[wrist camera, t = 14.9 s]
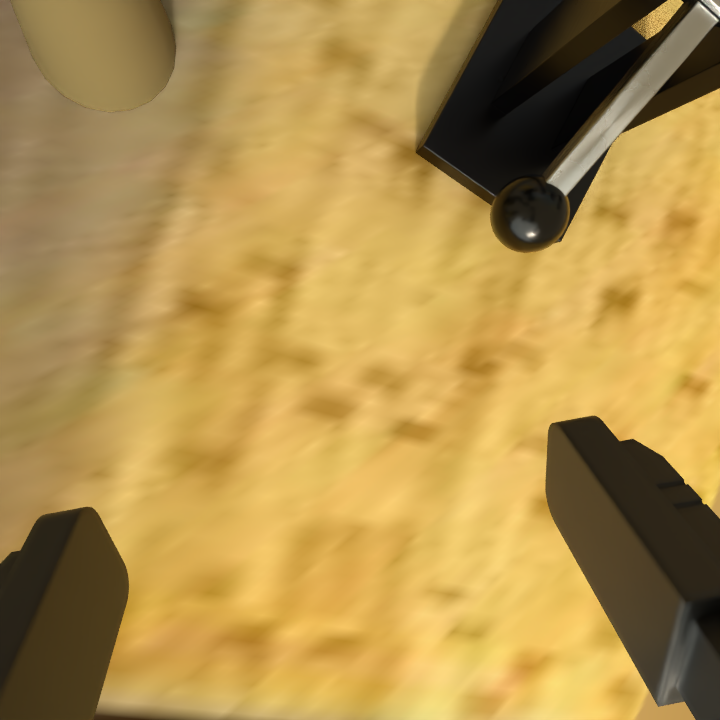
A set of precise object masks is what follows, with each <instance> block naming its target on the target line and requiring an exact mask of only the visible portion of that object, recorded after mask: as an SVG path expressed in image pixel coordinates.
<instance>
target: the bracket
mask: <svg viewBox="0 0 720 720" xmlns="http://www.w3.org/2000/svg"><path fill="white" fill-rule="evenodd" d="M666 1H667V0H498V2H497V4H496V5H495V7H494V9H493V11H492V13H491V15H490V16H489V18H488V20H487V22H486V24H485V26H484V27H483V29H482V31H481V33H480V35H479V37H478V38H477V40H476V42H475V44H474V46H473V48H472V49H471V51H470V53H469V55H468V57H467V59H466V60H465V62H464V64H463V66H462V68H461V70H460V71H459V73H458V75H457V77H456V79H455V81H454V82H453V84H452V86H451V88H450V90H449V92H448V93H447V95H446V97H445V99H444V101H443V103H442V104H441V106H440V108H439V110H438V112H437V114H436V115H435V117H434V119H433V121H432V123H431V125H430V126H429V128H428V130H427V132H426V134H425V136H424V137H423V139H422V141H421V143H420V145H419V147H418V148H417V150H416V153H417V154H418V155H420V156H421V157H422V158H424V159H425V160H427V161H428V162H430V163H431V164H433V165H434V166H435V167H437V168H438V169H440V170H441V171H443V172H444V173H446V174H447V175H448V176H450V177H451V178H453V179H454V180H456V181H457V182H459V183H460V184H461V185H463V186H464V187H466V188H467V189H469V190H470V191H472V192H473V193H474V194H476V195H477V196H479V197H480V198H482V199H483V200H485V201H486V202H487V203H489V204H490V205H492V203H493V201H494V198H495V197H496V195H497V193H498V192H499V191H500V189H501V188H502V187H503V186H504V185H505V184H507V183H508V182H509V181H511V180H513V179H515V178H517V177H519V176H523V175H528V174H539V175H542V174H543V172H544V171H545V170H546V169H547V168H548V166H549V165H550V164H551V163H552V162H553V160H554V159H555V158H556V157H557V156H558V154H559V153H560V152H561V151H562V149H563V148H564V147H565V146H566V145H567V143H568V142H569V141H570V140H571V139H572V137H573V136H574V135H575V134H576V133H577V131H578V130H579V129H580V128H581V127H582V125H583V124H584V123H585V122H586V120H587V119H588V118H589V117H590V116H591V114H592V113H593V112H594V111H595V110H596V108H597V107H598V106H599V105H600V104H601V102H602V101H603V100H604V99H605V98H606V96H607V95H608V94H609V93H610V91H611V90H612V89H613V88H614V87H615V85H616V84H617V83H618V82H619V81H620V79H621V78H622V77H623V76H624V75H625V73H626V72H627V71H628V70H629V68H630V67H631V66H632V65H633V64H634V62H635V61H636V60H637V59H638V58H639V56H640V55H641V54H642V53H643V52H644V50H645V49H646V48H647V47H648V46H649V44H650V43H651V42H652V41H653V39H654V38H655V37H656V36H657V35H658V33H659V32H658V33H657V34H655V35H654V36H652V37H651V38H649V39H648V40H646V39H645V38H644V37H643V36H642V35H641V34H639V33H638V32H637V31H636V30H635V29H634V28H633V27H631V26H632V25H633V24H635V23H636V22H638V21H639V20H640V19H642V18H643V17H645V16H646V15H648V14H649V13H650V12H652V11H653V10H655V9H656V8H657V7H659V6H660V5H662V4H663V3H664V2H666ZM719 88H720V28H719V27H714V28H713V29H712V30H711V31H710V32H709V33H708V35H707V36H706V37H705V38H704V39H703V40H702V41H701V43H700V44H699V45H698V46H697V47H696V48H695V49H694V51H693V52H692V53H691V54H690V55H689V56H688V57H687V59H686V60H685V61H684V62H683V63H682V64H681V65H680V67H679V68H678V69H677V70H676V71H675V72H674V73H673V75H672V76H671V77H670V78H669V79H668V80H667V81H666V83H665V84H664V85H663V86H662V87H661V88H660V89H659V91H658V92H657V93H656V94H655V95H654V96H653V97H652V99H651V100H650V101H649V102H648V103H647V104H646V105H645V107H644V108H643V109H642V110H641V111H640V112H639V113H638V115H637V116H636V117H635V118H634V119H633V120H632V121H631V123H630V124H629V125H628V126H627V127H626V128H625V129H624V131H623V132H622V133H624V132H626V131H628V130H630V129H632V128H634V127H637V126H639V125H641V124H643V123H645V122H647V121H650V120H652V119H654V118H656V117H658V116H660V115H663V114H665V113H667V112H669V111H671V110H673V109H676V108H678V107H680V106H682V105H684V104H686V103H689V102H691V101H693V100H695V99H697V98H699V97H702V96H704V95H706V94H708V93H710V92H712V91H715V90H717V89H719ZM611 145H612V144H611ZM611 145H610V147H611ZM610 147H609V148H610ZM609 148H608V149H607V150H606V151H605V152H604V153H603V155H602V156H601V157H600V158H599V159H598V160H597V161H596V163H595V164H594V165H593V166H592V167H591V168H590V169H589V171H588V172H587V173H586V174H585V175H584V176H583V177H582V179H581V180H580V181H579V182H578V183H577V184H576V185H575V187H574V188H573V189H572V190H571V191H570V192H569V193H568V195H567V197H568V200H569V206H570V216H569V221H568V224H567V227H566V229H565V231H564V232H563V234H562V235H561V236H560V238H559V239H558V240H557V241H556V242H555V243H557V242H560V241H561V240H562V238H563V236H564V235H565V233H566V231H567V229H568V227H569V225H570V223H571V221H572V219H573V217H574V215H575V213H576V212H577V210H578V208H579V206H580V204H581V202H582V200H583V198H584V196H585V194H586V192H587V191H588V189H589V187H590V185H591V183H592V181H593V179H594V177H595V175H596V173H597V171H598V170H599V168H600V166H601V164H602V162H603V160H604V158H605V156H606V154H607V152H608V150H609Z"/></svg>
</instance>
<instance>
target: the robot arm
mask: <svg viewBox="0 0 720 720" xmlns="http://www.w3.org/2000/svg"><path fill="white" fill-rule="evenodd" d="M546 497H547V502H548V506H549V509H550V512H551V515H552V517H553V520H554V522H555V524H556V526H557V527H558V529H559V531H560V533H561V534H562V536H563V538H564V540H565V542H566V543H567V545H568V547H569V549H570V550H571V552H572V554H573V556H574V558H575V559H576V561H577V563H578V565H579V566H580V568H581V570H582V572H583V574H584V575H585V577H586V579H587V581H588V582H589V584H590V586H591V588H592V590H593V591H594V593H595V595H596V597H597V599H598V600H599V602H600V604H601V606H602V607H603V609H604V611H605V613H606V615H607V616H608V618H609V620H610V622H611V623H612V625H613V627H614V629H615V631H616V632H617V634H618V636H619V638H620V639H621V641H622V643H623V645H624V647H625V648H626V650H627V652H628V654H629V656H630V657H631V659H632V661H633V663H634V664H635V666H636V668H637V670H638V672H639V673H640V675H641V677H642V679H643V680H644V682H645V684H646V686H647V688H648V689H649V691H650V693H651V694H652V696H653V698H654V700H655V702H656V703H657V705H658V707H659V706H664V705H669V704H674V703H679V702H684V701H685V703H686V704H687V706H688V708H689V709H690V711H691V713H692V714H693V716H694V718H695V719H696V720H720V519H719V518H718V516H717V515H716V514H715V513H714V512H713V511H712V510H711V509H710V508H709V507H708V505H707V504H705V505H704V504H703V503H702V499H701V498H700V497H699V496H698V494H697V493H696V492H695V491H694V490H693V489H692V488H691V487H690V486H689V485H688V484H687V485H686V484H685V483H684V479H683V478H682V477H681V476H680V475H679V474H678V473H677V471H676V470H675V469H674V468H673V467H672V466H671V465H670V464H669V463H668V462H667V461H666V459H665V458H664V457H663V456H661V455H659V454H658V453H656V452H654V451H653V450H651V449H649V448H648V447H646V446H644V445H642V444H641V443H639V442H637V441H636V440H634V439H630V440H625V441H619V440H618V439H617V438H616V437H615V436H614V434H613V433H612V432H611V431H610V430H609V428H608V427H607V426H606V425H605V424H604V422H603V421H602V420H601V419H600V418H598V417H597V416H588V417H583V418H577V419H572V420H567V421H561V422H556V423H552V424H551V425H550V427H549V430H548V445H547V465H546ZM128 592H129V581H128V573H127V569H126V566H125V564H124V562H123V560H122V558H121V556H120V554H119V552H118V550H117V548H116V547H115V545H114V543H113V541H112V539H111V537H110V535H109V533H108V532H107V530H106V528H105V526H104V524H103V522H102V520H101V518H100V516H99V515H98V513H97V512H96V511H95V509H93V508H91V507H83V508H78V509H73V510H67V511H62V512H56V513H51V514H45V515H42V516H41V517H40V518H39V519H38V520H37V521H36V523H35V524H34V526H33V528H32V530H31V532H30V534H29V536H28V537H27V539H26V541H25V543H24V545H23V547H22V549H21V551H16V552H11V553H10V554H9V555H8V556H7V557H6V559H5V560H4V561H3V562H2V563H1V564H0V720H93V719H94V715H95V712H96V708H97V705H98V701H99V698H100V694H101V691H102V687H103V684H104V680H105V677H106V673H107V670H108V666H109V663H110V659H111V656H112V652H113V649H114V645H115V642H116V638H117V635H118V631H119V628H120V624H121V621H122V617H123V614H124V611H125V607H126V604H127V599H128Z"/></svg>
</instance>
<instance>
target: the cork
mask: <svg viewBox="0 0 720 720" xmlns="http://www.w3.org/2000/svg"><path fill="white" fill-rule="evenodd" d="M10 1H11V4H12V6H13V9H14V11H15V14H16V16H17V19H18V21H19V24H20V27H21V29H22V32H23V34H24V37H25V39H26V42H27V44H28V47H29V49H30V52H31V54H32V57H33V59H34V61H35V62H36V64H37V66H38V67H39V69H40V71H41V72H42V74H43V76H44V77H45V79H46V80H47V81H48V82H49V83H50V84H51V85H52V86H54V87H55V88H56V89H57V90H58V91H59V92H60V93H61V94H62V95H63V96H64V97H66V98H68V99H70V100H72V101H74V102H76V103H78V104H80V105H82V106H84V107H86V108H91V109H96V110H101V111H106V112H116V111H126V110H132V109H134V108H137V107H139V106H141V105H143V104H145V103H148V102H150V101H151V100H152V99H153V98H154V97H155V96H156V95H157V94H158V93H159V92H160V91H161V90H162V89H163V88H164V87H165V86H166V84H167V82H168V80H169V78H170V75H171V73H172V71H173V69H174V62H175V52H176V45H175V40H174V36H173V31H172V27H171V24H170V21H169V19H168V17H167V14H166V12H165V10H164V7H163V5H162V3H161V0H10Z"/></svg>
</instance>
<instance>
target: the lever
mask: <svg viewBox="0 0 720 720" xmlns="http://www.w3.org/2000/svg"><path fill="white" fill-rule="evenodd" d="M682 1H683V2H684V3H683V4H682V6H681V7H680V8H679V9H678V10H677V12H676V13H675V14H674V15H673V16H672V18H671V19H670V20H669V21H668V23H667V24H666V25H665V26H664V27H663V29H662V30H661V31H660V32H659V33H658V35H657V36H656V37H655V38H654V39H653V41H652V42H651V43H650V44H649V46H648V47H647V48H646V49H645V50H644V52H643V53H642V54H641V55H640V56H639V58H638V59H637V60H636V61H635V62H634V64H633V65H632V66H631V67H630V68H629V70H628V71H627V72H626V73H625V75H624V76H623V77H622V78H621V79H620V81H619V82H618V83H617V84H616V85H615V87H614V88H613V89H612V90H611V91H610V93H609V94H608V95H607V96H606V98H605V99H604V100H603V101H602V102H601V104H600V105H599V106H598V107H597V108H596V110H595V111H594V112H593V113H592V114H591V116H590V117H589V118H588V119H587V120H586V122H585V123H584V124H583V125H582V127H581V128H580V129H579V130H578V131H577V133H576V134H575V135H574V136H573V137H572V139H571V140H570V141H569V142H568V143H567V145H566V146H565V147H564V148H563V149H562V151H561V152H560V153H559V154H558V156H557V157H556V158H555V159H554V160H553V162H552V163H551V164H550V165H549V166H548V168H547V169H546V170H545V171H544V172H543V174H542V175H539V174H528V175H523V176H519V177H517V178H515V179H513V180H511V181H509V182H508V183H507V184H505V185H504V186H503V187H502V188H501V189H500V191H499V192H498V193H497V195H496V197H495V198H494V201H493V203H492V207H491V212H490V221H491V226H492V229H493V232H494V234H495V236H496V237H497V239H498V240H499V241H500V242H501V243H502V244H503V245H505V246H506V247H507V248H509V249H511V250H514V251H517V252H522V253H532V252H537V251H540V250H543V249H545V248H547V247H549V246H551V245H552V244H553V243H555V242H556V241H557V240H558V239H559V238H560V236H561V235H562V234H563V232H564V231H565V229H566V227H567V224H568V221H569V216H570V206H569V200H568V197H567V195H568V193H569V192H570V191H571V190H572V189H573V188H574V187H575V185H576V184H577V183H578V182H579V181H580V180H581V179H582V177H583V176H584V175H585V174H586V173H587V172H588V171H589V169H590V168H591V167H592V166H593V165H594V164H595V163H596V161H597V160H598V159H599V158H600V157H601V156H602V155H603V153H604V152H605V151H606V150H607V149H608V148H609V147H610V145H611V144H612V143H613V142H614V141H615V140H616V139H617V137H618V136H619V135H620V134H621V133H622V132H623V131H624V129H625V128H626V127H627V126H628V125H629V124H630V123H631V121H632V120H633V119H634V118H635V117H636V116H637V115H638V113H639V112H640V111H641V110H642V109H643V108H644V107H645V105H646V104H647V103H648V102H649V101H650V100H651V99H652V97H653V96H654V95H655V94H656V93H657V92H658V91H659V89H660V88H661V87H662V86H663V85H664V84H665V83H666V81H667V80H668V79H669V78H670V77H671V76H672V75H673V73H674V72H675V71H676V70H677V69H678V68H679V67H680V65H681V64H682V63H683V62H684V61H685V60H686V59H687V57H688V56H689V55H690V54H691V53H692V52H693V51H694V49H695V48H696V47H697V46H698V45H699V44H700V43H701V41H702V40H703V39H704V38H705V37H706V36H707V35H708V33H709V32H710V31H711V30H712V29H713V28H714V27H719V28H720V0H682Z"/></svg>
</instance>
